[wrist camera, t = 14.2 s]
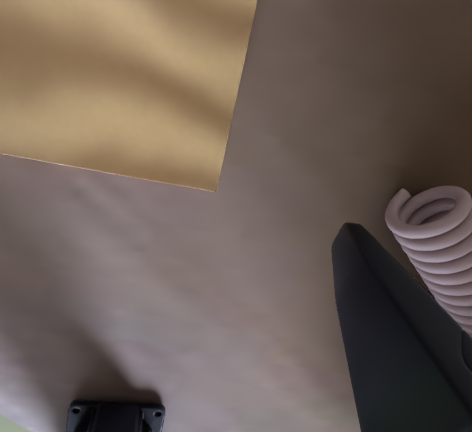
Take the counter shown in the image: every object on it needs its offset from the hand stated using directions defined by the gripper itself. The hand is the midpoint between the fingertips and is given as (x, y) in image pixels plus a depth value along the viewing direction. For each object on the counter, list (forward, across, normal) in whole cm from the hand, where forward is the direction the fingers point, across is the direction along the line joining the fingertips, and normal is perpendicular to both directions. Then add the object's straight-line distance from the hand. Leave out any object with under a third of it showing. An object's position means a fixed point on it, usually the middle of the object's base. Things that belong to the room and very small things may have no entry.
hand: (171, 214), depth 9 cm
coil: (+9, -20, +12) cm, 25 cm away
